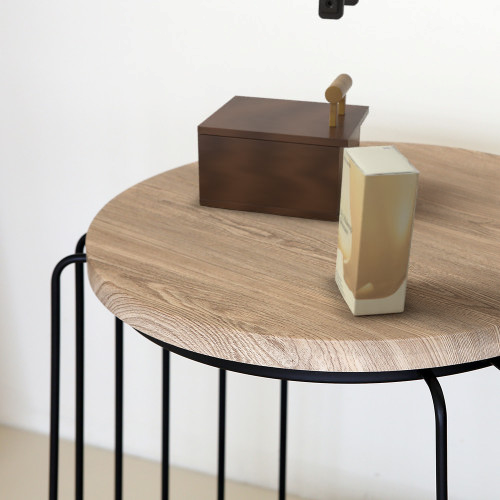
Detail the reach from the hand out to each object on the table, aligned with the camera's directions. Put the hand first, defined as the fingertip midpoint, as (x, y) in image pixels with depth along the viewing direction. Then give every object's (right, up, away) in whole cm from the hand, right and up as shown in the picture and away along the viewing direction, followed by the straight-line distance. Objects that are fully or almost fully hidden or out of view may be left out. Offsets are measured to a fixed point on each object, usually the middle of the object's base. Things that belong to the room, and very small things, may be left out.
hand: (339, 11), depth 76 cm
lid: (-5, -9, +8) cm, 13 cm away
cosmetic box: (+1, -27, -10) cm, 29 cm away
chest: (-5, -16, +12) cm, 21 cm away
